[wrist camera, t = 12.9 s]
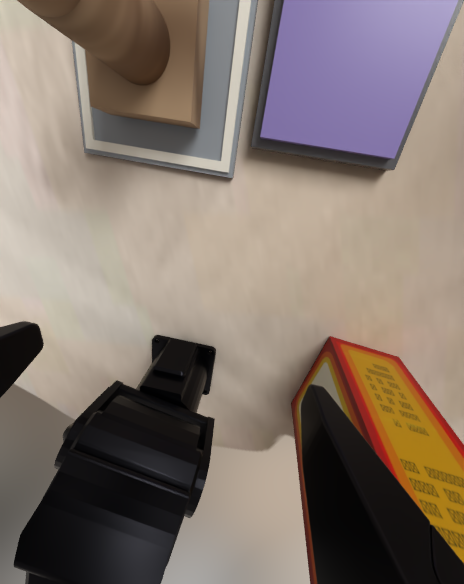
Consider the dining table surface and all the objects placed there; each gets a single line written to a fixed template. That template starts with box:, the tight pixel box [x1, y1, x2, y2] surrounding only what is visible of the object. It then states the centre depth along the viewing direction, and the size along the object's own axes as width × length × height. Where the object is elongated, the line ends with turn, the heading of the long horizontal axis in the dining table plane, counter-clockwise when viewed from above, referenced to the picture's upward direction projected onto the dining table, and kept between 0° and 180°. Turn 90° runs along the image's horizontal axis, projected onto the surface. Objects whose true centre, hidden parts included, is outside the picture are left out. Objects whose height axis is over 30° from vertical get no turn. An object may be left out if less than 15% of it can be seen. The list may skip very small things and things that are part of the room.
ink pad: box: [251, 0, 464, 170], centre depth 13 cm, size 9×9×2 cm
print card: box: [72, 0, 258, 178], centre depth 14 cm, size 11×11×1 cm
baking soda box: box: [291, 336, 464, 584], centre depth 16 cm, size 10×6×16 cm
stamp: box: [17, 0, 209, 129], centre depth 10 cm, size 6×6×10 cm
